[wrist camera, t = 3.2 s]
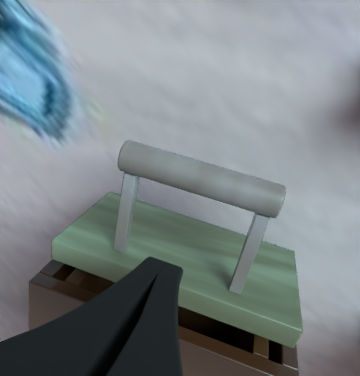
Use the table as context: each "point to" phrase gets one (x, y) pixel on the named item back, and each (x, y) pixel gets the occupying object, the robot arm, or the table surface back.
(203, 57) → the table surface
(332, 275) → the table surface
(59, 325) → the robot arm
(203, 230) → the drawer
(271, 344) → the cabinet
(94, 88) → the table surface
